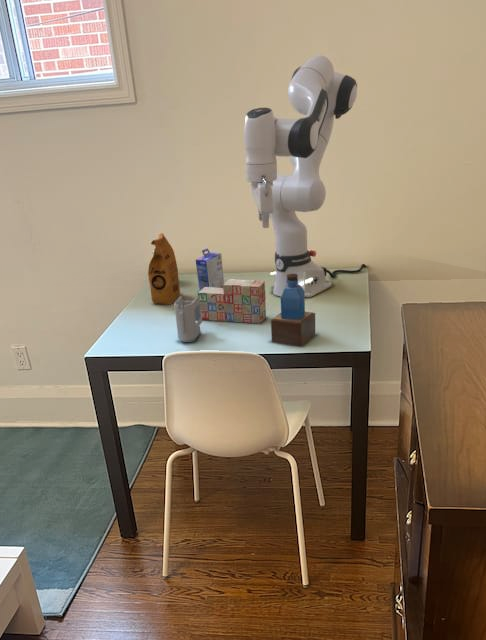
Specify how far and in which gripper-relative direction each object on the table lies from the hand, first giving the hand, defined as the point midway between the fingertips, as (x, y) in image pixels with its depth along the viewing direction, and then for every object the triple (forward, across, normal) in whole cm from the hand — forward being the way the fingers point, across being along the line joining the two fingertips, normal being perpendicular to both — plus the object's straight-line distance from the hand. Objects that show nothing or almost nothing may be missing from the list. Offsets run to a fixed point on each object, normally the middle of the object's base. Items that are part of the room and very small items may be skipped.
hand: (263, 223), depth 198 cm
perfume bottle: (+24, -14, -6) cm, 28 cm away
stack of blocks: (+31, +8, +11) cm, 34 cm away
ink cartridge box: (+31, +42, +16) cm, 55 cm away
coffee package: (+31, +35, +33) cm, 58 cm away
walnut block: (+31, -14, -6) cm, 35 cm away
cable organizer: (+31, -4, +25) cm, 40 cm away
